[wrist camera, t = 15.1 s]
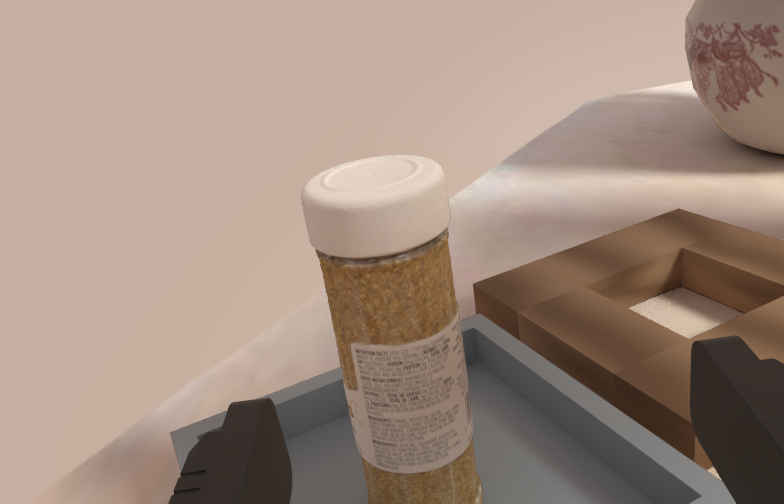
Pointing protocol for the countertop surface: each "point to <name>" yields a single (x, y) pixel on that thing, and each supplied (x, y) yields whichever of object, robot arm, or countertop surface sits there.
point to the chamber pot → (740, 67)
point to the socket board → (633, 331)
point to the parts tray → (494, 437)
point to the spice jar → (397, 325)
